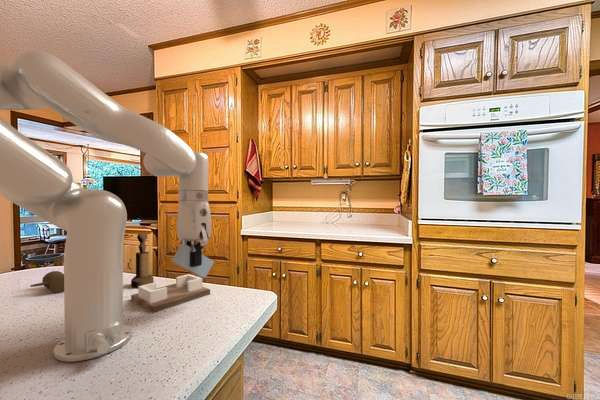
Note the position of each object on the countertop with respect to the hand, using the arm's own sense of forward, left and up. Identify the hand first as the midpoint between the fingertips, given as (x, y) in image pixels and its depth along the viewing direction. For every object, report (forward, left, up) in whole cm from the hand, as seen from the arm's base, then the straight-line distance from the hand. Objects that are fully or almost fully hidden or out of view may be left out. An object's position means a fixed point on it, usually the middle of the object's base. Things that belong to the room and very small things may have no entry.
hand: (192, 264), depth 73 cm
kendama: (+48, +15, -12) cm, 52 cm away
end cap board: (+12, -1, -12) cm, 17 cm away
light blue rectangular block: (0, +1, -1) cm, 2 cm away
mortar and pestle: (+31, 0, -12) cm, 33 cm away
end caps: (+12, -1, -10) cm, 16 cm away
